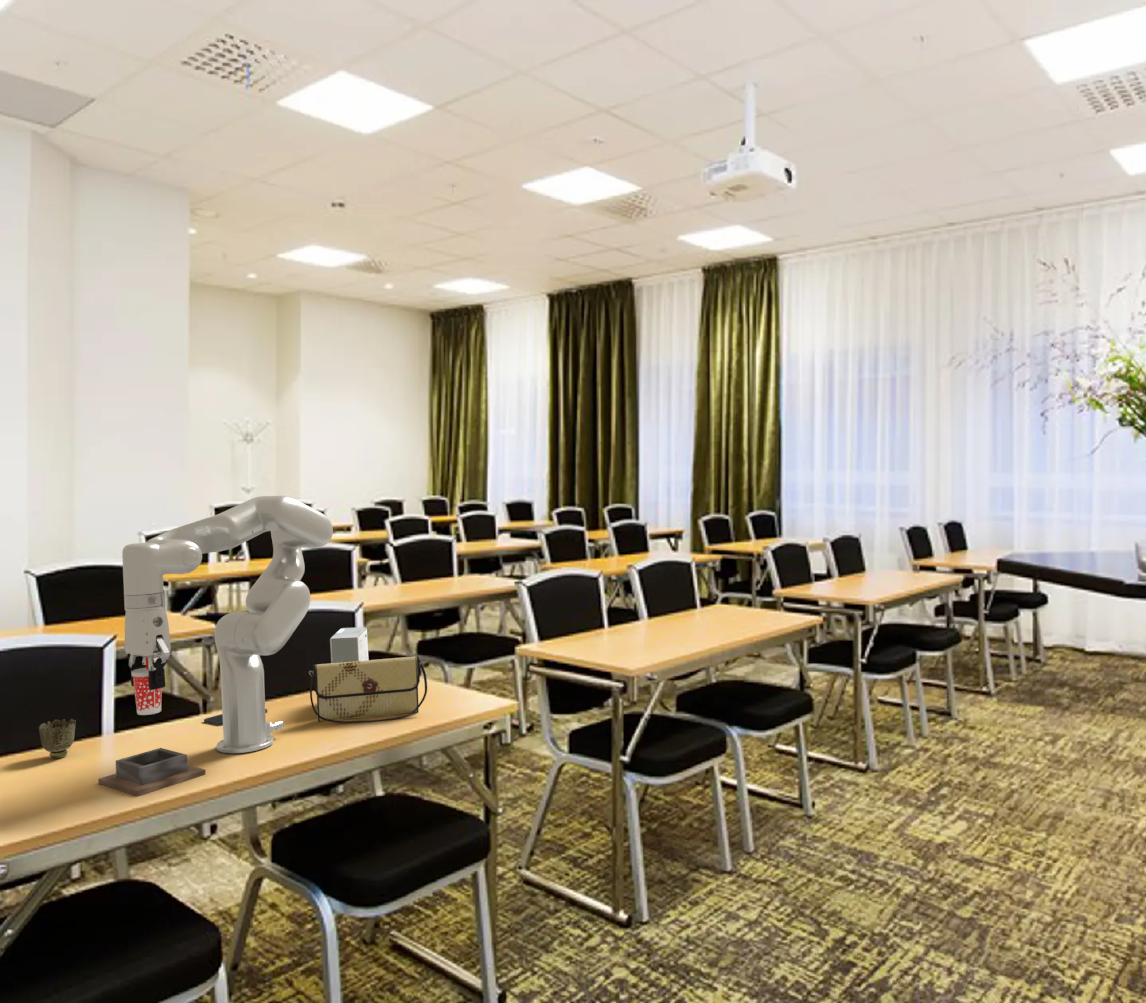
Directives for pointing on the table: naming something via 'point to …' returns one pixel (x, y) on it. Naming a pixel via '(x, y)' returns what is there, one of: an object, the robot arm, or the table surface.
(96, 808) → the table surface
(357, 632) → the hard drive box
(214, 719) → the phone
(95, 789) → the table surface
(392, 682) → the clutch purse
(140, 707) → the beverage cup
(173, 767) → the socket board
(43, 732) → the cup
